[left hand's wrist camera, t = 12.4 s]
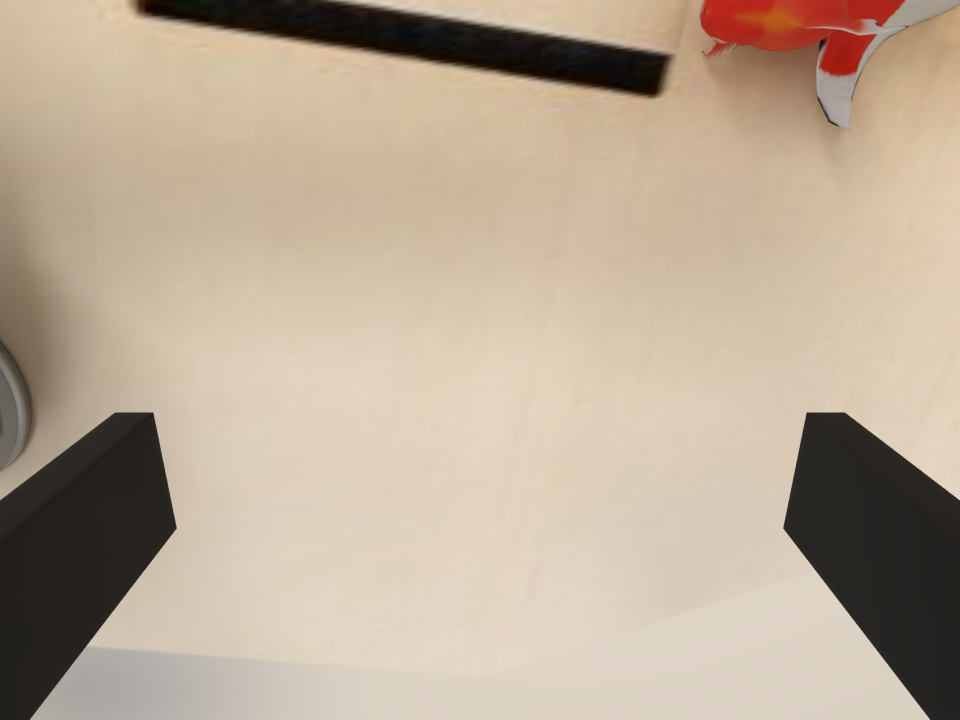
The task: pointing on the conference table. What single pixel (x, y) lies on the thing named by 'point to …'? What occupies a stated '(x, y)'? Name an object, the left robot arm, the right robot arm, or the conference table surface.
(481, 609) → the conference table surface
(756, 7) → the fish
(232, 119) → the conference table surface
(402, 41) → the conference table surface
